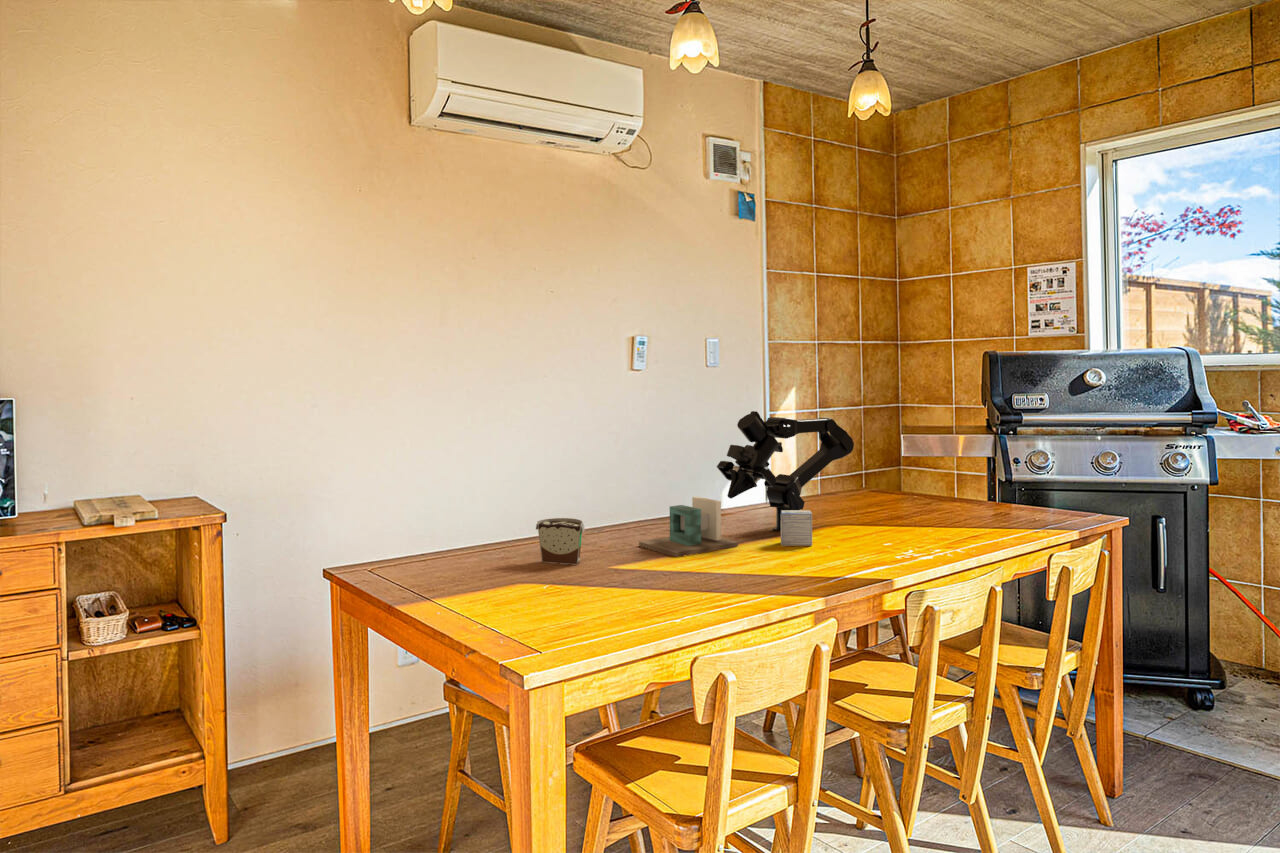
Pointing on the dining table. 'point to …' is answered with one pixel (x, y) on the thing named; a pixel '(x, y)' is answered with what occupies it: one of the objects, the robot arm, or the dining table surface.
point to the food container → (560, 540)
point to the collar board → (686, 549)
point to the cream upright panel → (707, 517)
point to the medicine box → (796, 528)
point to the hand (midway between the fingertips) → (729, 497)
